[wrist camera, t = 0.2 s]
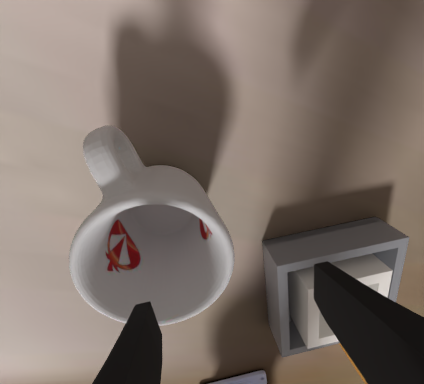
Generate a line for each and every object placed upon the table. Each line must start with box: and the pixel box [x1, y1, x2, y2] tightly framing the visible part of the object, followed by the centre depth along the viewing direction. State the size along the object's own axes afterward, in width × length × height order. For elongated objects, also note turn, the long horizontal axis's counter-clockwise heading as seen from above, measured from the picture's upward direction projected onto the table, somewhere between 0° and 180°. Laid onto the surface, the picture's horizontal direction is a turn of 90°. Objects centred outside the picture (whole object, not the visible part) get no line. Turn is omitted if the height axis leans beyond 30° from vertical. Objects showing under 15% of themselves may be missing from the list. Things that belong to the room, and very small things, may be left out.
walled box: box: [262, 217, 409, 357], centre depth 22 cm, size 11×11×4 cm
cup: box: [69, 126, 234, 326], centre depth 15 cm, size 11×8×8 cm
